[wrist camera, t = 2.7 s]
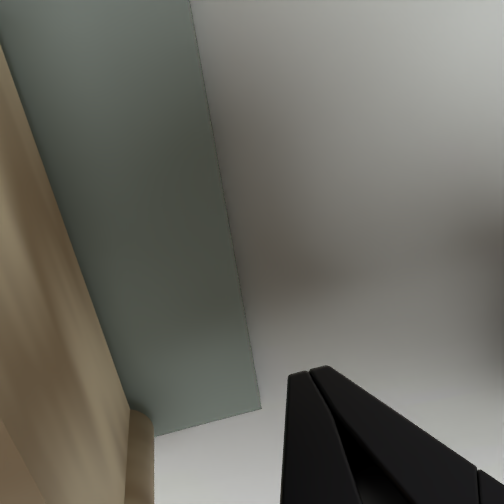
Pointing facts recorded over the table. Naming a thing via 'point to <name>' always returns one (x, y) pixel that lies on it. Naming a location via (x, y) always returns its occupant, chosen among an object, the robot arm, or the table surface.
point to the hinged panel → (55, 351)
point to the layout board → (139, 195)
